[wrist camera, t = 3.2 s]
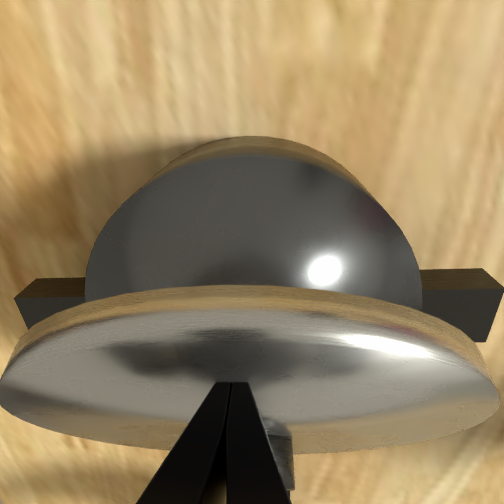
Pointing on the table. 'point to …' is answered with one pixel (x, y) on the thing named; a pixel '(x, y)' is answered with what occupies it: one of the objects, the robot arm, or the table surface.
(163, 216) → the pot
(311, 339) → the lid
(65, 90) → the table surface
